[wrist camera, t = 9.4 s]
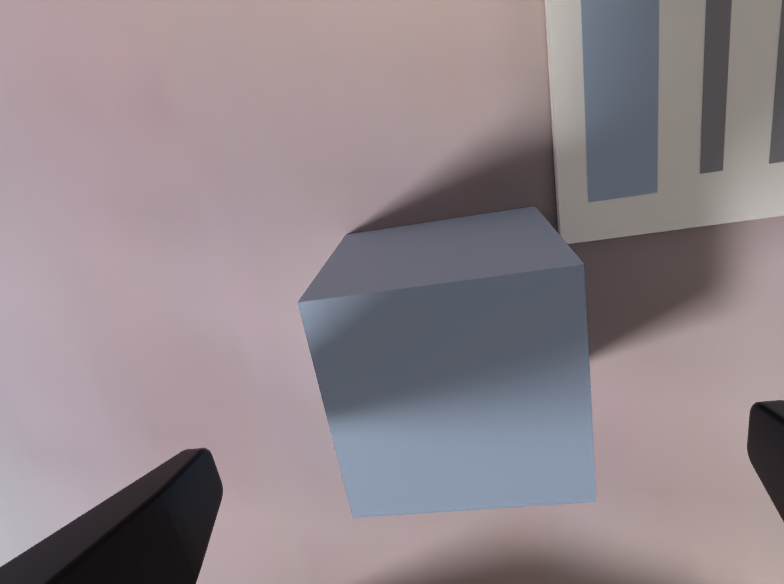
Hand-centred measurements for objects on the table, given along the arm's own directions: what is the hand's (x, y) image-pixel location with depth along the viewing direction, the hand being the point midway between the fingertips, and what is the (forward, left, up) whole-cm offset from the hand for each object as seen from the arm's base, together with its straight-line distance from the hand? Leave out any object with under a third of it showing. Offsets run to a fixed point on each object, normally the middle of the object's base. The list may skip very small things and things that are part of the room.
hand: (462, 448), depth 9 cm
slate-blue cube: (0, 0, -6) cm, 6 cm away
